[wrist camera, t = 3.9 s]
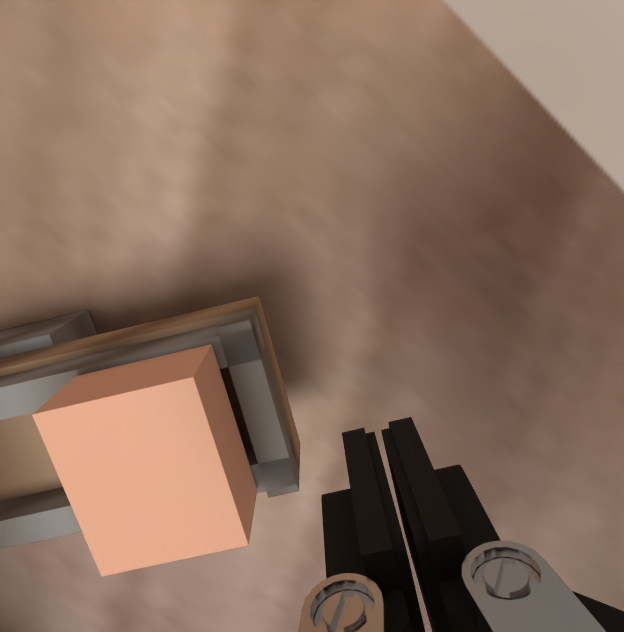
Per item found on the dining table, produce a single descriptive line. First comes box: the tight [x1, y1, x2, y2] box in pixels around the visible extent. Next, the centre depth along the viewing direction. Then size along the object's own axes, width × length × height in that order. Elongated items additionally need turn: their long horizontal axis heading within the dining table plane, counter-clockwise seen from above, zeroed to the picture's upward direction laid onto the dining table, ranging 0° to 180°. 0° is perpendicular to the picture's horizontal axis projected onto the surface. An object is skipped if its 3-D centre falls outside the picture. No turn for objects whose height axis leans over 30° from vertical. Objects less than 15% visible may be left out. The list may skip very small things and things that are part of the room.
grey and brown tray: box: [0, 296, 300, 549], centre depth 23 cm, size 24×8×8 cm, turn 104°
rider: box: [32, 344, 257, 576], centre depth 18 cm, size 5×6×5 cm
